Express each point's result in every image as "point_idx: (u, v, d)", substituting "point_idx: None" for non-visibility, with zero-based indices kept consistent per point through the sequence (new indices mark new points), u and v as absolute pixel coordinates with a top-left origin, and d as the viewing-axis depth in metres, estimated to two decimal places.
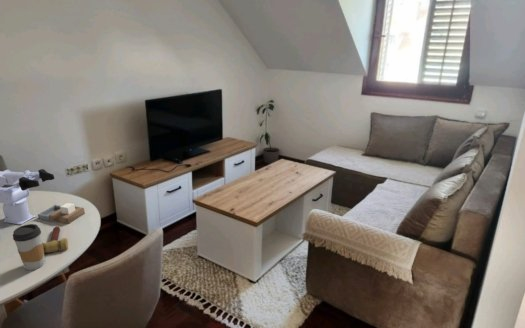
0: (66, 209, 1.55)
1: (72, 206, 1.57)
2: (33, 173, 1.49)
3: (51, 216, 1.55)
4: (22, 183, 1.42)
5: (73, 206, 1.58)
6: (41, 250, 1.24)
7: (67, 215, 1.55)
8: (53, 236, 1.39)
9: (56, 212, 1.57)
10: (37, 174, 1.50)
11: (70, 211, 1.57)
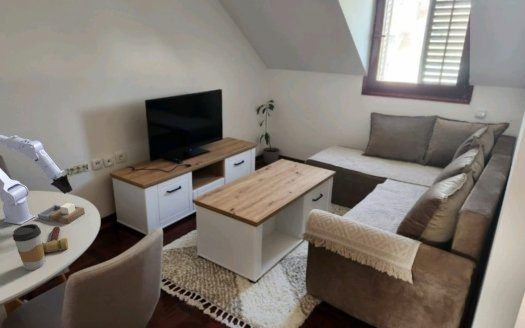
0: (66, 209, 1.55)
1: (72, 206, 1.57)
2: None
3: (51, 216, 1.55)
4: (61, 178, 1.45)
5: (73, 206, 1.58)
6: (41, 250, 1.24)
7: (67, 215, 1.55)
8: (53, 236, 1.40)
9: (56, 212, 1.57)
10: None
11: (70, 211, 1.57)
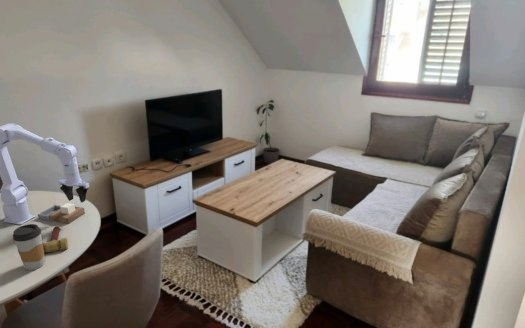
0: (66, 209, 1.55)
1: (72, 206, 1.57)
2: None
3: (51, 216, 1.55)
4: None
5: (73, 206, 1.58)
6: (41, 250, 1.24)
7: (67, 215, 1.55)
8: (53, 236, 1.40)
9: (56, 212, 1.57)
10: None
11: (70, 211, 1.57)
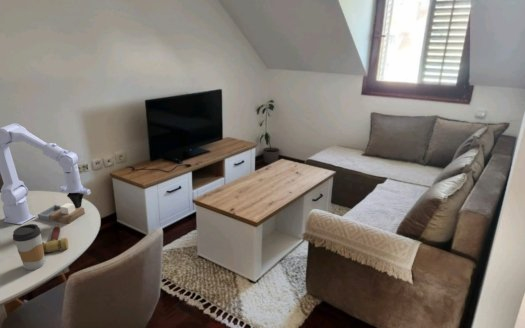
0: (66, 209, 1.55)
1: (72, 206, 1.57)
2: None
3: (51, 216, 1.55)
4: None
5: (73, 206, 1.58)
6: (41, 250, 1.24)
7: (67, 215, 1.55)
8: (53, 236, 1.40)
9: (56, 212, 1.57)
10: None
11: (70, 211, 1.57)
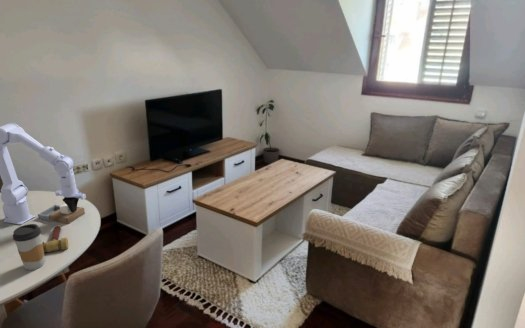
0: (65, 209, 1.55)
1: None
2: None
3: (51, 216, 1.55)
4: None
5: None
6: (41, 250, 1.24)
7: (67, 215, 1.55)
8: (53, 235, 1.40)
9: (56, 212, 1.57)
10: None
11: (69, 211, 1.57)
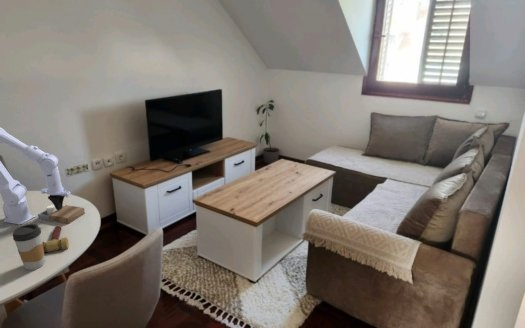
0: (48, 209, 1.59)
1: (52, 205, 1.61)
2: None
3: (51, 216, 1.55)
4: None
5: (53, 204, 1.61)
6: (41, 250, 1.24)
7: (67, 215, 1.55)
8: (54, 235, 1.40)
9: (56, 212, 1.57)
10: None
11: (52, 207, 1.59)
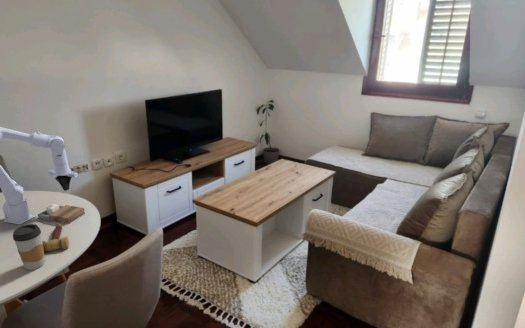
0: (48, 209, 1.59)
1: (52, 205, 1.61)
2: None
3: (51, 216, 1.55)
4: None
5: (53, 204, 1.61)
6: (41, 250, 1.24)
7: (67, 215, 1.55)
8: (54, 235, 1.40)
9: (56, 212, 1.57)
10: None
11: (52, 207, 1.59)
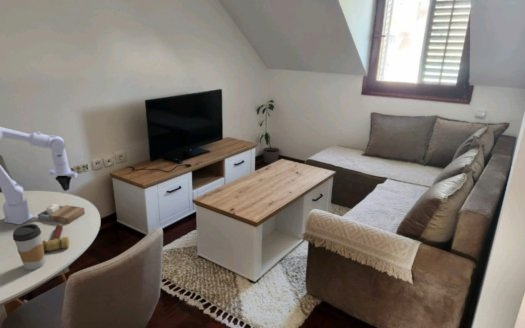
0: (48, 209, 1.59)
1: (52, 205, 1.61)
2: None
3: (51, 216, 1.55)
4: None
5: (53, 204, 1.61)
6: (41, 250, 1.24)
7: (67, 215, 1.55)
8: (55, 234, 1.41)
9: (56, 212, 1.57)
10: None
11: (52, 207, 1.59)
